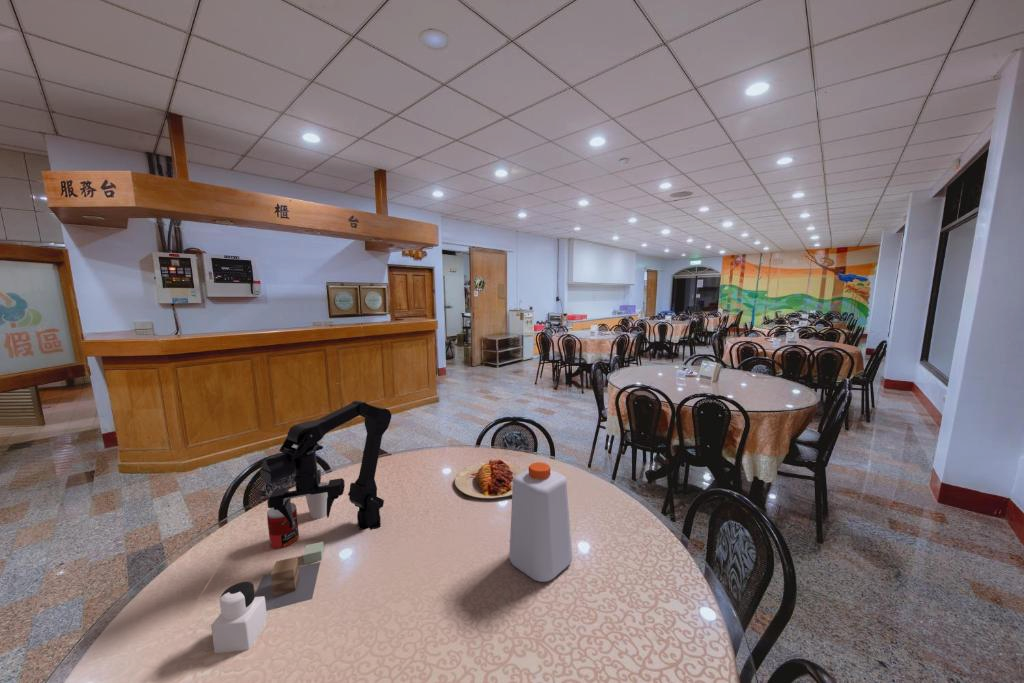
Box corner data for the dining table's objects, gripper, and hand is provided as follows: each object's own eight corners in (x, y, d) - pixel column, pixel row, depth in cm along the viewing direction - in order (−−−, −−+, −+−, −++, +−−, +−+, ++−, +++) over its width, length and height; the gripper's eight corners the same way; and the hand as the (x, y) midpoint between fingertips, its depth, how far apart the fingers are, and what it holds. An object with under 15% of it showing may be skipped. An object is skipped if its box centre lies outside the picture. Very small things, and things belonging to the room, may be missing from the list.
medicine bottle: (236, 626, 85) (230, 578, 84) (268, 623, 86) (263, 576, 84) (213, 655, 78) (207, 604, 77) (249, 652, 79) (243, 601, 77)
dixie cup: (337, 508, 133) (335, 481, 132) (323, 521, 125) (321, 494, 124) (316, 507, 134) (313, 481, 133) (300, 520, 126) (298, 493, 125)
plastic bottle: (538, 536, 115) (537, 450, 112) (578, 560, 104) (578, 465, 101) (503, 561, 104) (500, 467, 101) (543, 590, 93) (542, 485, 90)
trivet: (320, 563, 105) (320, 561, 105) (312, 600, 92) (312, 598, 92) (263, 577, 100) (263, 575, 100) (246, 618, 87) (245, 616, 87)
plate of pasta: (543, 499, 135) (542, 481, 135) (449, 504, 136) (447, 486, 135) (538, 464, 166) (537, 449, 166) (461, 468, 167) (460, 453, 166)
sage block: (324, 552, 110) (323, 541, 109) (322, 562, 106) (321, 551, 105) (307, 556, 108) (306, 545, 108) (304, 566, 104) (303, 555, 104)
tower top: (298, 566, 99) (297, 556, 98) (294, 580, 94) (293, 569, 94) (276, 571, 97) (275, 561, 97) (271, 585, 92) (270, 574, 92)
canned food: (286, 551, 110) (282, 517, 109) (263, 548, 112) (260, 514, 111) (305, 535, 118) (302, 503, 117) (283, 533, 119) (280, 501, 118)
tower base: (299, 577, 99) (298, 566, 99) (295, 590, 94) (294, 580, 94) (278, 582, 97) (276, 571, 97) (272, 596, 93) (271, 585, 92)
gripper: (344, 452, 115) (348, 499, 116) (275, 462, 109) (280, 512, 110) (340, 467, 104) (344, 519, 106) (264, 479, 98) (270, 534, 100)
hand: (310, 520), depth 106 cm, fingers open, 9 cm apart
